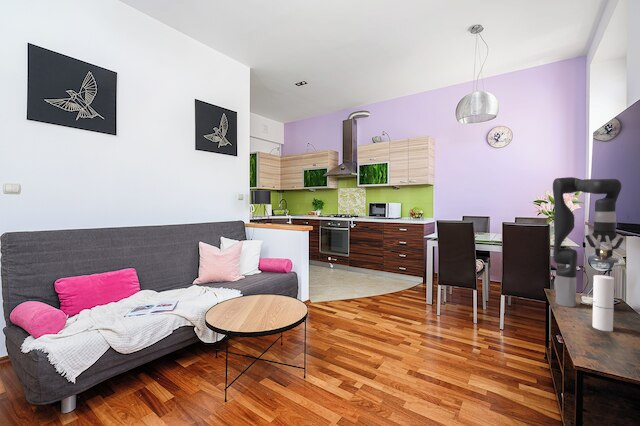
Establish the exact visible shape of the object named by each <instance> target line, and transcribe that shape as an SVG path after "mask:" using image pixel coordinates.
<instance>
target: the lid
mask: <svg viewBox="0 0 640 426" xmlns="http://www.w3.org/2000/svg"><path fill="white" fill-rule="evenodd" d="M599 249H600V250H599V257H598V256H597V255H595V256H593V255H592V256H589V258H588V259H589V261H591V262H597V263H605V264H617V263H619V259H618V258H616V257H610V258H608V250H609V249H601V248H599Z"/></svg>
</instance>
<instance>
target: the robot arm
mask: <svg viewBox="0 0 640 426" xmlns="http://www.w3.org/2000/svg"><path fill="white" fill-rule="evenodd" d="M621 190H622V182H621V181H620V180H619V179H617V178H602V179H601V178H600V179H595V178H592V179H591V178H588V179H586V178H585V179H580V178H577V177H573V176H571V177H569V176H568V177H558V178H557V177H556V178H555V179H554V180H553V182H552V193H553V194H552V195H553V196H552V197H553V205H554V206H553V207H554V208H553V210H554V211H553V212H554V213H553V214H554V215H553V226H554V227H553V229H554V231H553V233H554V242H553V254H552V256H553V262H554V263H555V264H559V265H560V264H561V265H567V266H568V265H569V266H568V267H564V268H559V269H556V272H555V304H557V305H558V306H562V307H568V308H574V307H576V306H577V266H578V251H577V250H576V249H574V248H573V249H571V248H561V247H562V244H563V242H564V241H565V239H566V238H567V237H568V236H569V235H570V234H571V232H573V230H574V228H575V214H574V213H573V212H572V210H571V209H570V208H569V206H568V205H567V203H566V202H565V198H564V194H573V193H579V192H581V193H585V194H593V195H594V194H595V195H605V197H603V198H599V199H596V200H595V202H594V215H593V232H592V233H591V234H587V235H585V238H586V240H587V242H588V244H589V247H591V248H594V250H595V251H594V253H595V256H598V257H599V250H600V249H601V248H600V247H601V245H602V243H606V245H607V248H608V249H607V250H608V258H610V257H611V258H613V254H614V250H617V249H619V248H620V246H622V243H623V242H624V241H625V237H623V236H620V235H618V234H617V232H616V230H617V227H616V226H617V215H616V214H617V213H616V207H617V206H616V204H617V201H618V198H619V195H620V193H621ZM593 238H594V239H595V240H596V242H594V240H593ZM615 239H616V241H617V242H616V243H615V245H613V241H614V240H615Z"/></svg>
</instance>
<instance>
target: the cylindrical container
mask: <svg viewBox="0 0 640 426" xmlns="http://www.w3.org/2000/svg"><path fill="white" fill-rule="evenodd" d="M592 288H593V289H592V291H593V292H592V324H591V325H592V327H593V328H594V329H596V330H599V331H602V332H613V331H614V307H615V306H614V305H615V304H614V303H615V301H614V298H615V292H614V291H615V277H614V276H609V275H601V274H595V275H593V285H592Z"/></svg>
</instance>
